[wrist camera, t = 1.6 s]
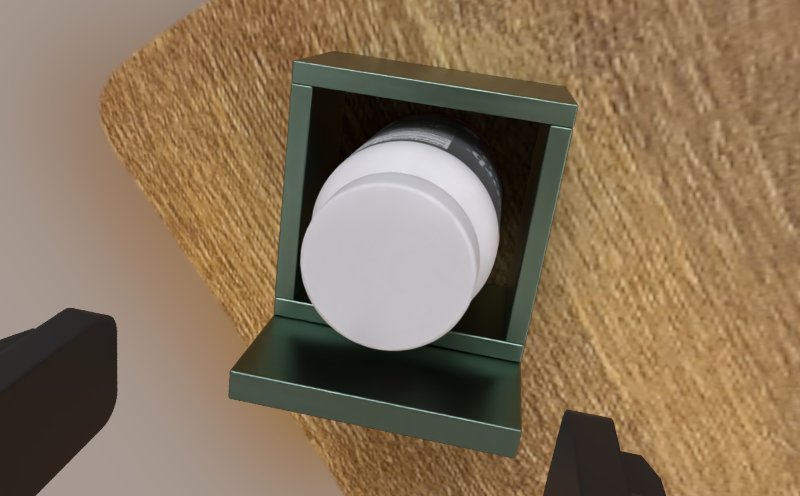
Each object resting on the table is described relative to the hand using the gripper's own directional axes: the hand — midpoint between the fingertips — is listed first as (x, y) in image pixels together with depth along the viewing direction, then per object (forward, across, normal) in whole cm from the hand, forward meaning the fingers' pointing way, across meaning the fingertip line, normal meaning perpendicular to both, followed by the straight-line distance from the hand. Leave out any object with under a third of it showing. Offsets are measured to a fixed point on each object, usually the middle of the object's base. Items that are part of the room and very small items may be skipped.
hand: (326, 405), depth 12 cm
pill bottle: (+16, 0, 0) cm, 16 cm away
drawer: (+16, 0, 0) cm, 16 cm away
